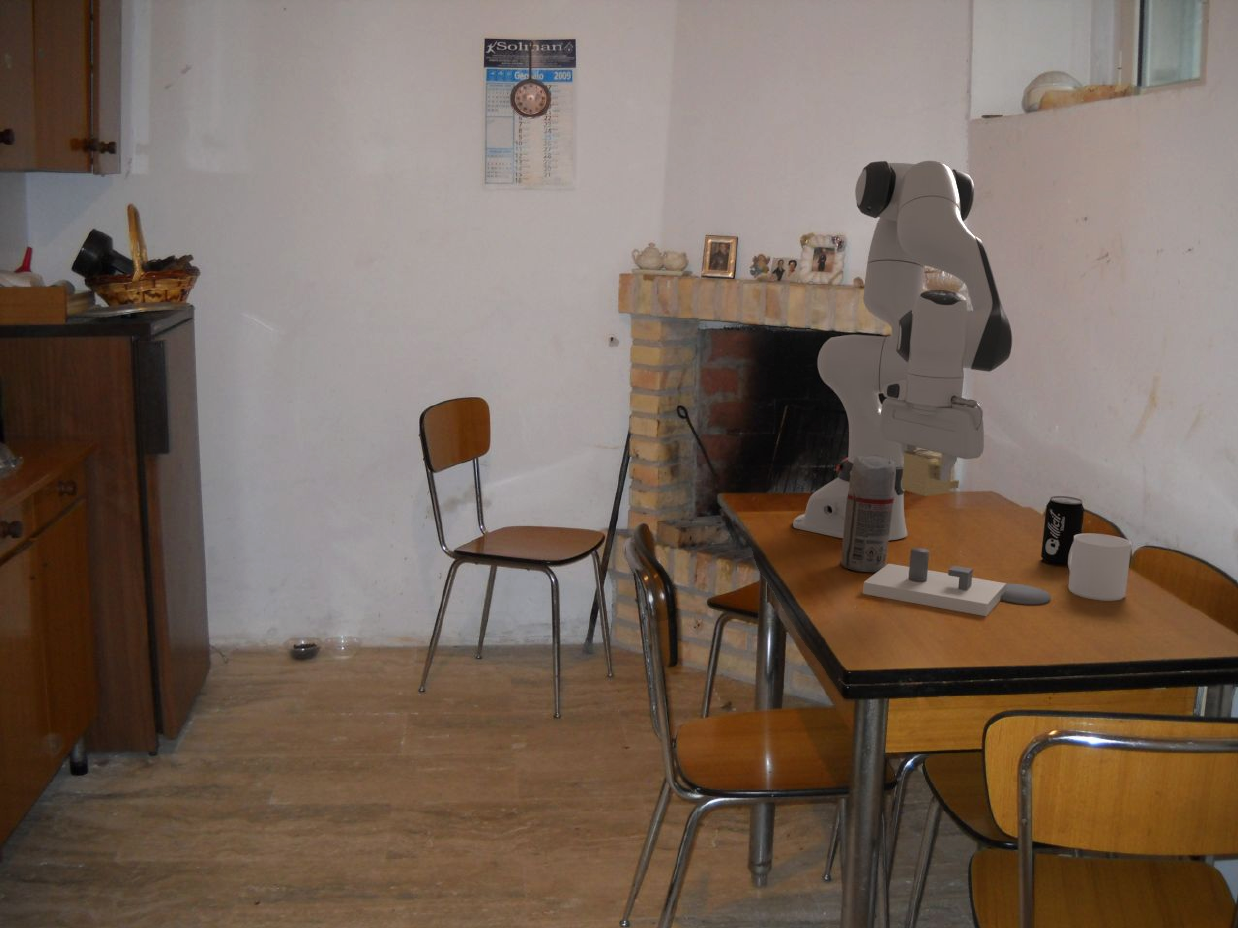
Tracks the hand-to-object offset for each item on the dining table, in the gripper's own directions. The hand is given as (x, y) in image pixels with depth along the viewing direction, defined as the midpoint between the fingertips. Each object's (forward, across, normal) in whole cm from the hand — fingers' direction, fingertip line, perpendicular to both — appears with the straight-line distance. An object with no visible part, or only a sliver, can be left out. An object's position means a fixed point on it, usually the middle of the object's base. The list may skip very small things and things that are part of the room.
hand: (926, 476), depth 197 cm
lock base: (+20, -3, -1) cm, 20 cm away
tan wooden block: (+3, 0, -2) cm, 3 cm away
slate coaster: (+20, -9, -14) cm, 26 cm away
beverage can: (+20, +2, -39) cm, 44 cm away
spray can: (+20, +15, -2) cm, 25 cm away
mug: (+20, -12, -29) cm, 37 cm away
